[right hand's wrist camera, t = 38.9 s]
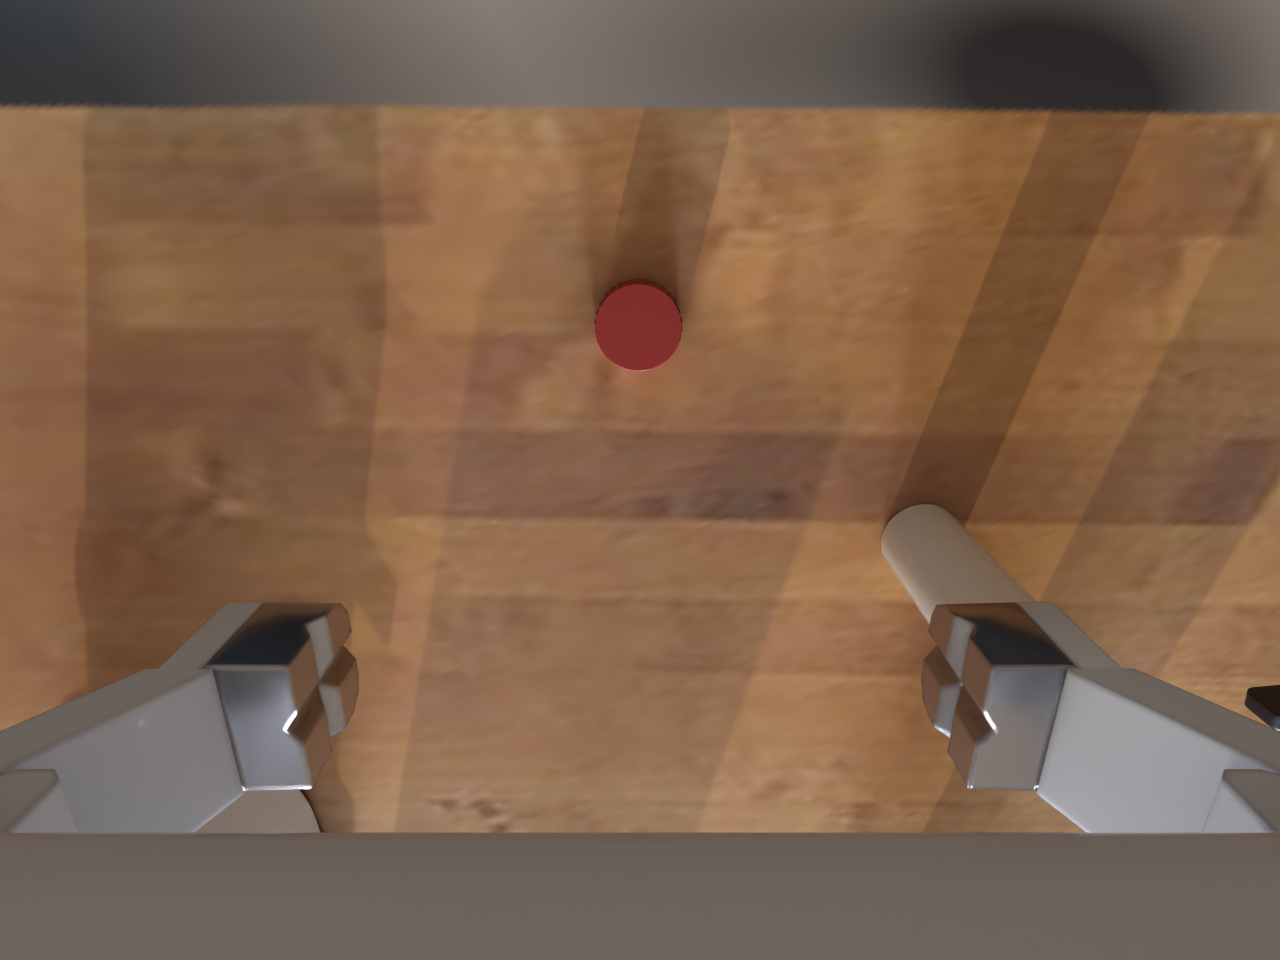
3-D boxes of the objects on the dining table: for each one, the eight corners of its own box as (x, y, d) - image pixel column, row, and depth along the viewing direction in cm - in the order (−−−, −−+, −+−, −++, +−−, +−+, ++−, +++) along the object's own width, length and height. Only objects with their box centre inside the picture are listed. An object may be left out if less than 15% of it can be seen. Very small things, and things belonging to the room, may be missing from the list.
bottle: (933, 488, 40) (1133, 685, 24) (973, 544, 41) (1188, 768, 25) (865, 533, 41) (1012, 753, 25) (906, 587, 42) (1071, 829, 26)
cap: (607, 372, 37) (606, 380, 36) (586, 289, 36) (584, 294, 34) (688, 353, 37) (691, 361, 35) (670, 269, 36) (672, 273, 34)
